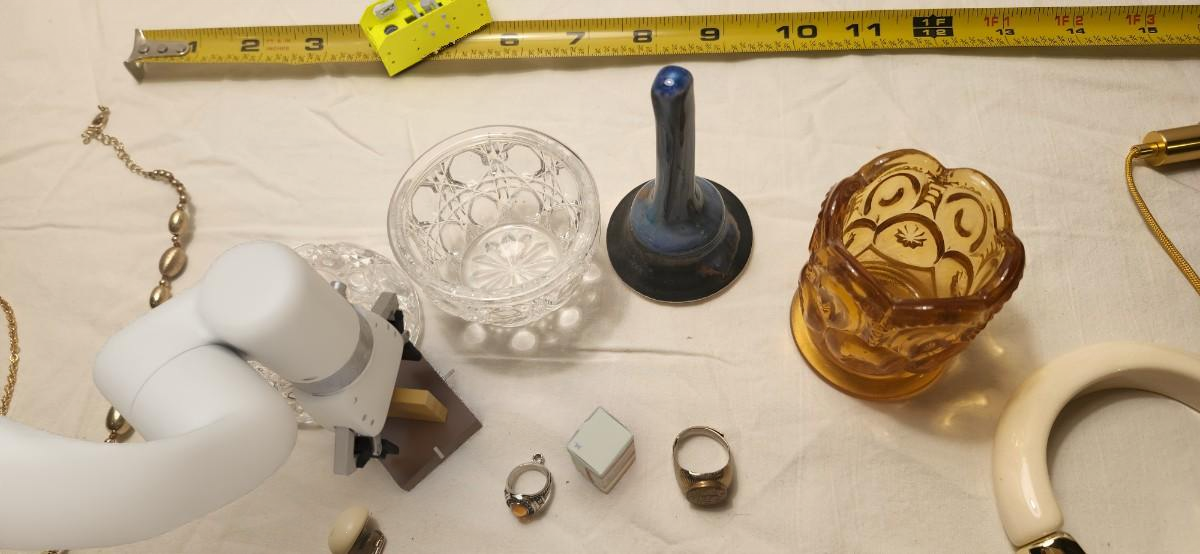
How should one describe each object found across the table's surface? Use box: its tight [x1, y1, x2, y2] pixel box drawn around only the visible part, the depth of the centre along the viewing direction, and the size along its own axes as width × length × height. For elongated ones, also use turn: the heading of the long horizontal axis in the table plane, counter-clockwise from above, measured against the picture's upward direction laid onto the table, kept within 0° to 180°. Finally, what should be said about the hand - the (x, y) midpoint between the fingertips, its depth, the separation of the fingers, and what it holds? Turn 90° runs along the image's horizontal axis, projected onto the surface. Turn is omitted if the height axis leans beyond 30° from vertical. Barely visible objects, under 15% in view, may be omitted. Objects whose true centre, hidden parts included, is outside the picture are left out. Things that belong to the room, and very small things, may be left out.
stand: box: [359, 355, 483, 493], centre depth 79 cm, size 13×13×3 cm
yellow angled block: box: [387, 387, 448, 423], centre depth 74 cm, size 9×1×7 cm, turn 82°
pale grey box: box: [565, 405, 637, 495], centre depth 72 cm, size 5×4×10 cm
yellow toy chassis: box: [358, 0, 493, 77], centre depth 99 cm, size 16×6×8 cm, turn 123°
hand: (396, 402), depth 75 cm, fingers open, 9 cm apart
